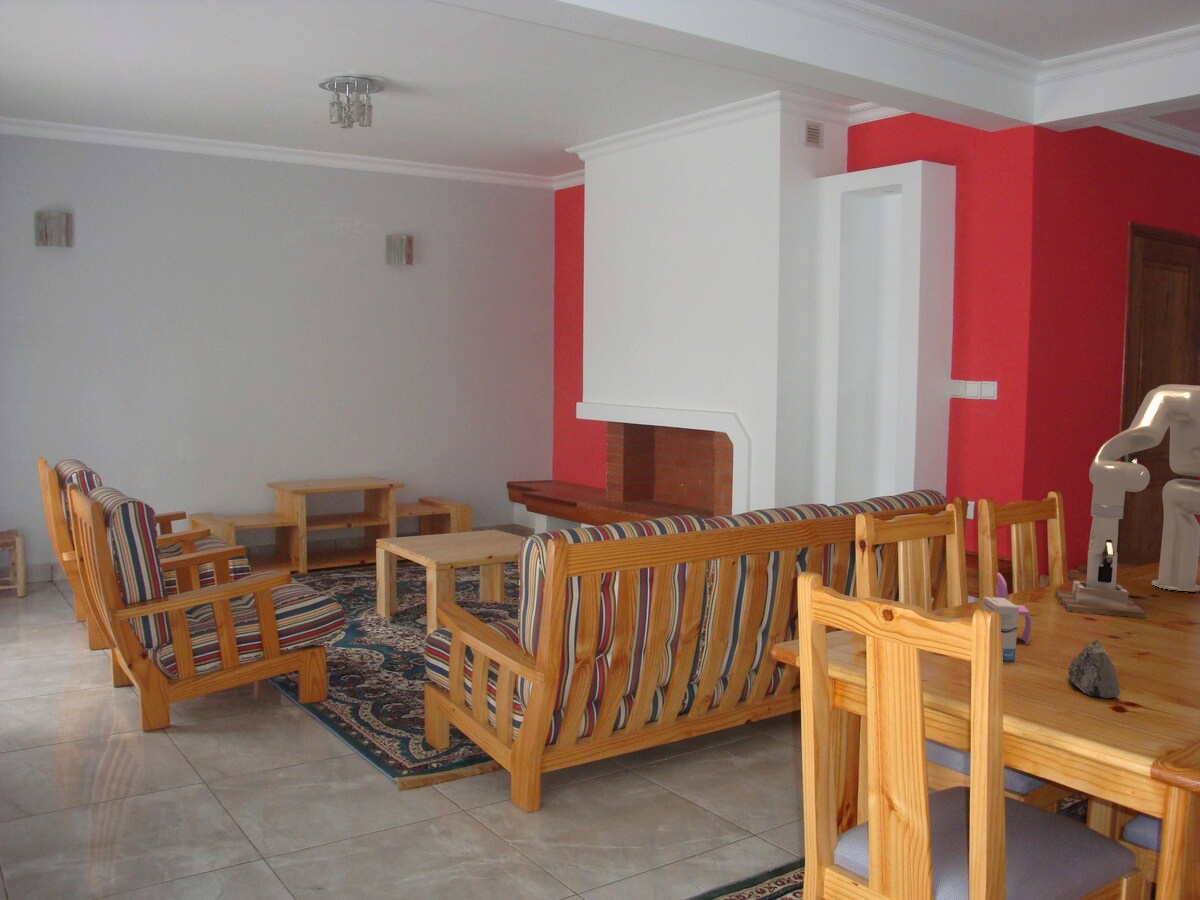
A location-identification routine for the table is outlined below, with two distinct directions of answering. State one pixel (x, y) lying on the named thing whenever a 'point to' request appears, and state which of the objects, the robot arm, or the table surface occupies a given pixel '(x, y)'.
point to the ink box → (1005, 623)
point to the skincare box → (1093, 572)
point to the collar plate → (1099, 601)
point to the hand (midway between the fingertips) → (1101, 578)
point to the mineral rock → (1094, 672)
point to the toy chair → (1002, 593)
